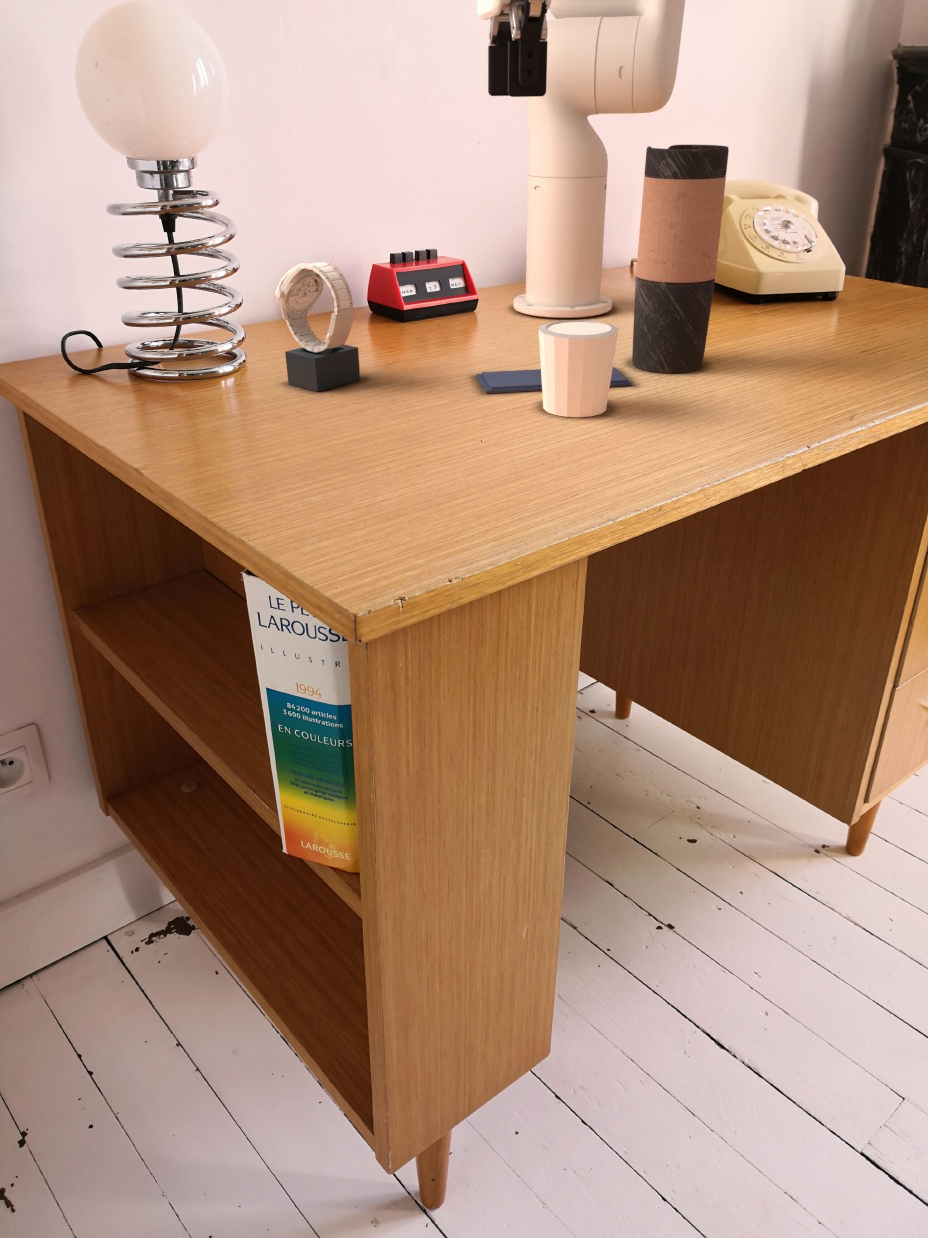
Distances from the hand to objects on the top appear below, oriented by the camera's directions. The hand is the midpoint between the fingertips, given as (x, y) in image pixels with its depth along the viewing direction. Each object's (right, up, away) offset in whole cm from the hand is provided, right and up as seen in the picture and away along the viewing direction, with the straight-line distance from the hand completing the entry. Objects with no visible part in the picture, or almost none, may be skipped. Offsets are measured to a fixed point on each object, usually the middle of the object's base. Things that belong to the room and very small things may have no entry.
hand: (515, 95), depth 84 cm
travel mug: (+16, -21, +13) cm, 29 cm away
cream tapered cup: (+5, -28, 0) cm, 28 cm away
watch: (-18, -23, +9) cm, 31 cm away
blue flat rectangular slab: (+4, -23, +8) cm, 25 cm away
